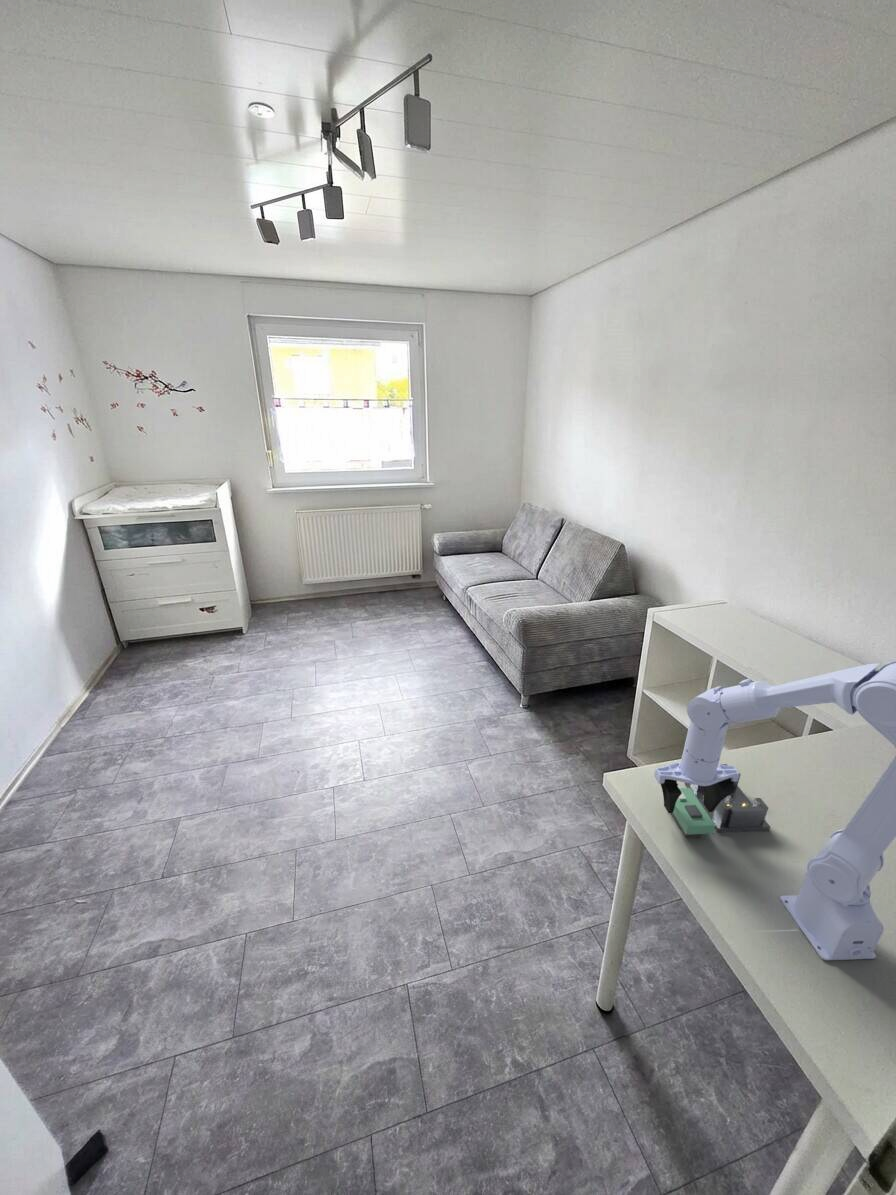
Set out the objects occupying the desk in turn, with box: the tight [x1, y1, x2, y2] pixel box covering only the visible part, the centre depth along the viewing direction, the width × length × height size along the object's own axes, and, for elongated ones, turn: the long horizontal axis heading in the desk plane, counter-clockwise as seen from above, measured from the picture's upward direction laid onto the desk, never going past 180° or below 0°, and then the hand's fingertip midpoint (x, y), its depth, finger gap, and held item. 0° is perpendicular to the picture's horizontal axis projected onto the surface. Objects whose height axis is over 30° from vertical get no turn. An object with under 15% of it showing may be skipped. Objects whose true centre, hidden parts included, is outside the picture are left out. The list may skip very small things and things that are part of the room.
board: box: [673, 787, 715, 835], centre depth 90 cm, size 5×9×3 cm, turn 2°
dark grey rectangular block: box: [670, 813, 702, 838], centre depth 90 cm, size 6×3×2 cm, turn 2°
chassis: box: [683, 763, 771, 833], centre depth 94 cm, size 10×12×5 cm
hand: (687, 808), depth 90 cm, fingers open, 7 cm apart
